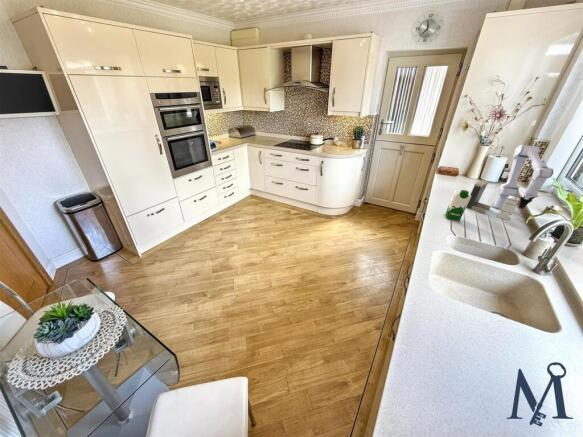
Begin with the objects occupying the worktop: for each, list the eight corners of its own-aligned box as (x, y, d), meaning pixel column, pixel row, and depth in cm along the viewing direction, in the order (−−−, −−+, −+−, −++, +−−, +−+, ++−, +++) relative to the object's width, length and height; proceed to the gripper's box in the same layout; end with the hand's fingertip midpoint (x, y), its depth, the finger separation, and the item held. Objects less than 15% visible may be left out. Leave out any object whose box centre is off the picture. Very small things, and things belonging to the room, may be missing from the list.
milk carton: (445, 219, 153) (457, 191, 143) (443, 213, 160) (455, 186, 150) (460, 222, 150) (474, 194, 140) (458, 216, 157) (471, 188, 147)
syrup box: (507, 220, 155) (519, 200, 148) (497, 216, 159) (507, 197, 152) (509, 217, 159) (520, 198, 151) (498, 214, 162) (509, 195, 155)
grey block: (470, 202, 177) (481, 180, 168) (489, 208, 169) (502, 185, 160) (463, 207, 170) (474, 183, 161) (483, 213, 162) (496, 189, 152)
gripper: (540, 192, 136) (527, 212, 143) (545, 186, 144) (533, 206, 151) (525, 188, 141) (513, 207, 148) (530, 183, 149) (519, 202, 156)
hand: (522, 206), depth 150 cm, fingers open, 7 cm apart
